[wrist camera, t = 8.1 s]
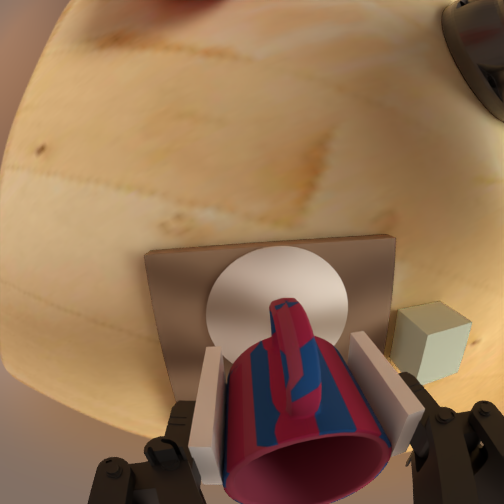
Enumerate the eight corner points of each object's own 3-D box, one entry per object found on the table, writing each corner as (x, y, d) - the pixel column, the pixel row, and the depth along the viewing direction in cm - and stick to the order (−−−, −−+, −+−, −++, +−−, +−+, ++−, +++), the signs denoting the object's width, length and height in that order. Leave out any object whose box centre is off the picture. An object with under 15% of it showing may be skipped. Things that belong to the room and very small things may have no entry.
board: (150, 250, 20) (142, 256, 18) (386, 234, 20) (397, 238, 18) (189, 427, 24) (187, 440, 22) (363, 410, 24) (369, 421, 22)
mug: (231, 424, 15) (230, 515, 8) (216, 272, 13) (196, 354, 6) (336, 414, 15) (369, 495, 9) (356, 265, 13) (440, 326, 6)
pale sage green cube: (397, 308, 21) (427, 335, 17) (439, 300, 22) (472, 322, 17) (389, 357, 23) (413, 387, 18) (430, 346, 23) (457, 372, 18)
